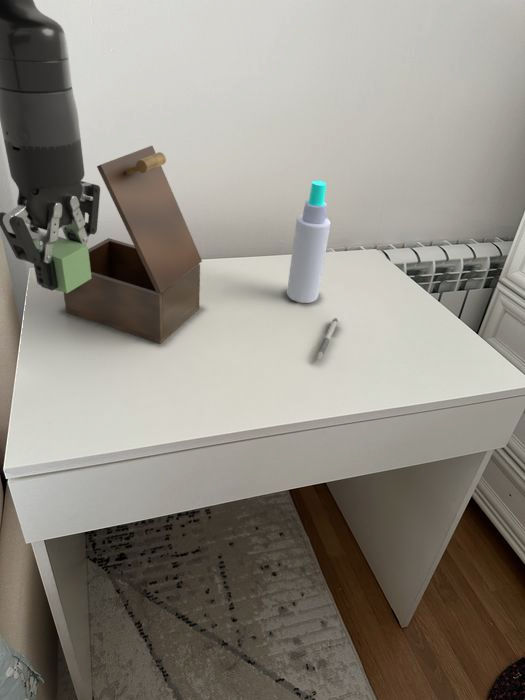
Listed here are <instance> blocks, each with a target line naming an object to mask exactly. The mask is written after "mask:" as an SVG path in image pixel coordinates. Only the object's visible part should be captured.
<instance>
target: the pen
mask: <svg viewBox="0 0 525 700" xmlns="http://www.w3.org/2000/svg"><path fill="white" fill-rule="evenodd" d="M338 322H339V321H338V318H337V317H335V318H333V319H332V321H331V323H330V325H329V327H328V330H327V332H326V334H325V336H324V338H323V340H322V342H321V344H320V346H319V349H318V351H317V353H316V361H317V362H318V361H321V359H322V357H323V356H324V355H325V352H326V350H327V348H328V346H329V344H330V341H331V338H332V336H333V334H334V332H335V330H336V327H337V325H338Z"/></svg>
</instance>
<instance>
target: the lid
mask: <svg viewBox="0 0 525 700" xmlns="http://www.w3.org/2000/svg"><path fill="white" fill-rule="evenodd" d="M166 161H167V158H166V155H165V154H164V153H163V152H160V151H158V152H156V150H155V148H154V145H150V146H146V147H144V148H141V149H139V150H136V151H133V152H130V153H128V154H126V155H123V156H120V157H118V158H114V159H112V160H109V161H106V162H104V163H101V164H99V165H96V168H97V170H98V172H99V174H100V177H101V178H102V181H103V183H104V185H105V187H106V189H107V191H108V193H109V195H110V197H111V200H112V202H113V204H114V206H115V208H116V210H117V212H118V214H119V216H120V218H121V221H122V223H123V225H124V227H125V229H126V231H127V233H128V236H129V237H130V240H131V242H132V245H134V246H135V248H136V250H137V252H138V254H139V256H140V259H141V261H142V263H143V265H144V267H145V269H146V271H147V273H148V275H149V277H150V280H151V282H152V284H153V286H154V288H155V290H156V292H157V294H159V293H162V292H163V291H164V290H166V289H167V288H168V287H169V286H171V285H172V284H173V283H175V282H176V281H177V280H179V279H180V278H181V277H182V276H184V275H185V274H186V273H188V272H189V271H190V270H191V269H193V268H194V267H195V266H197V265H198V264H201V263H202V262H203V260H202V257H201V255H200V252H199V250H198V249H197V246H196V243H195V240H194V239H193V237H192V234H191V232H190V230H189V227H188V225H187V223H186V221H185V218H184V216H183V214H182V213H183V212H182V211H181V209H180V206H179V204H178V201H177V199H176V197H175V195H174V192H173V189H172V187H171V185H170V183H169V181H168V178H167V176H166V173H165V171H164V169H163V165H165V164H166Z"/></svg>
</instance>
